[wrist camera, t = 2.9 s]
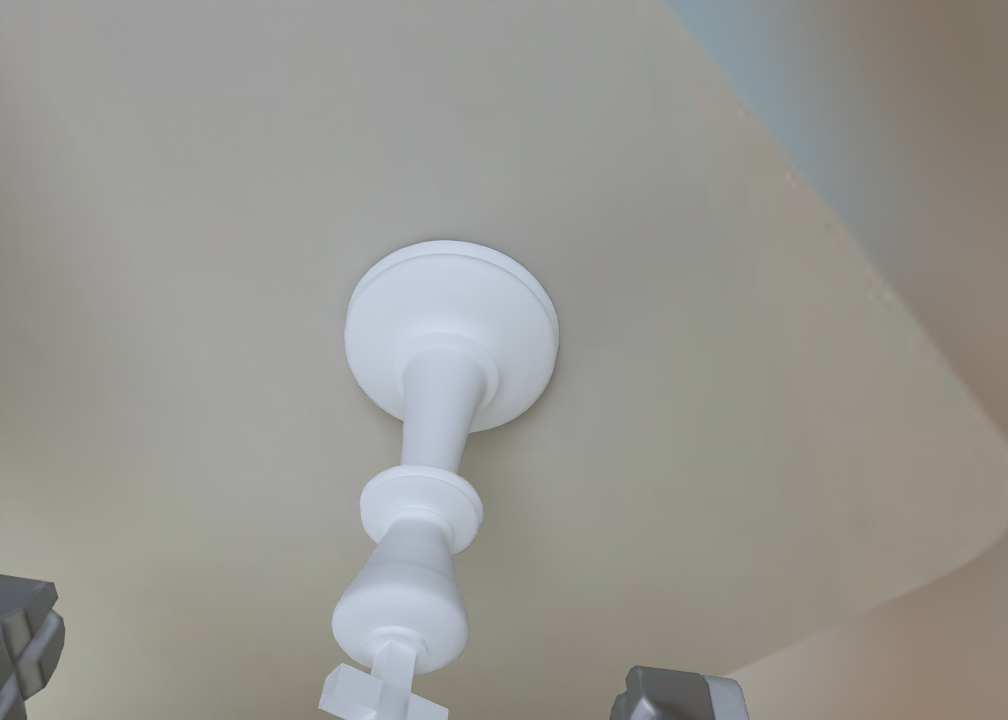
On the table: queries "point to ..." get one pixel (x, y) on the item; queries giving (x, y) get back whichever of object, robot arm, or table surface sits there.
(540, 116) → the table surface
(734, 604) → the table surface
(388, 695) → the chess piece
